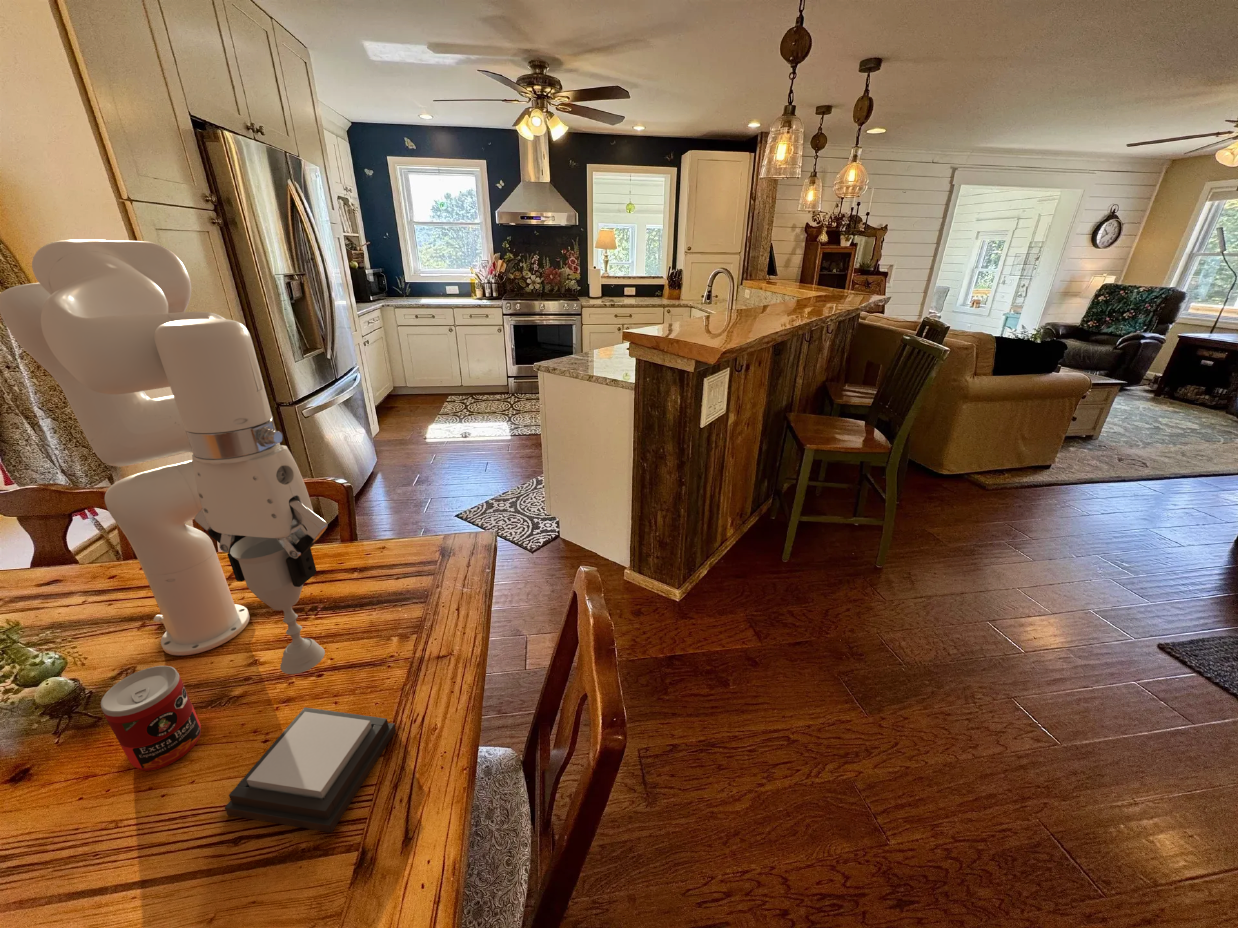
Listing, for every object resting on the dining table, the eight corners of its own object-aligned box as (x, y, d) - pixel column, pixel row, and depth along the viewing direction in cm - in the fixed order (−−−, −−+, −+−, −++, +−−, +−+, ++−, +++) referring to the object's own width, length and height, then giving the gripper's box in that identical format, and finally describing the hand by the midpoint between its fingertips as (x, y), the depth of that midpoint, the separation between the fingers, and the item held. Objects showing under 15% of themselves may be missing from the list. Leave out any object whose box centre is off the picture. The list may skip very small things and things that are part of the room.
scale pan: (249, 787, 61) (246, 779, 61) (307, 719, 70) (304, 711, 70) (323, 799, 60) (320, 791, 59) (372, 728, 69) (370, 720, 69)
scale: (227, 814, 61) (220, 798, 59) (308, 718, 73) (303, 703, 72) (331, 832, 59) (326, 816, 58) (396, 730, 72) (392, 715, 70)
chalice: (304, 684, 61) (265, 562, 54) (257, 676, 62) (213, 554, 55) (345, 643, 67) (315, 529, 61) (302, 636, 69) (268, 523, 62)
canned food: (144, 783, 64) (111, 723, 60) (122, 753, 68) (90, 693, 64) (213, 739, 70) (188, 681, 66) (189, 713, 74) (164, 656, 70)
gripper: (333, 432, 55) (362, 565, 62) (195, 424, 57) (238, 554, 64) (282, 456, 48) (322, 603, 55) (128, 446, 50) (185, 590, 57)
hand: (277, 576), depth 60 cm, fingers closed on chalice, 6 cm apart
